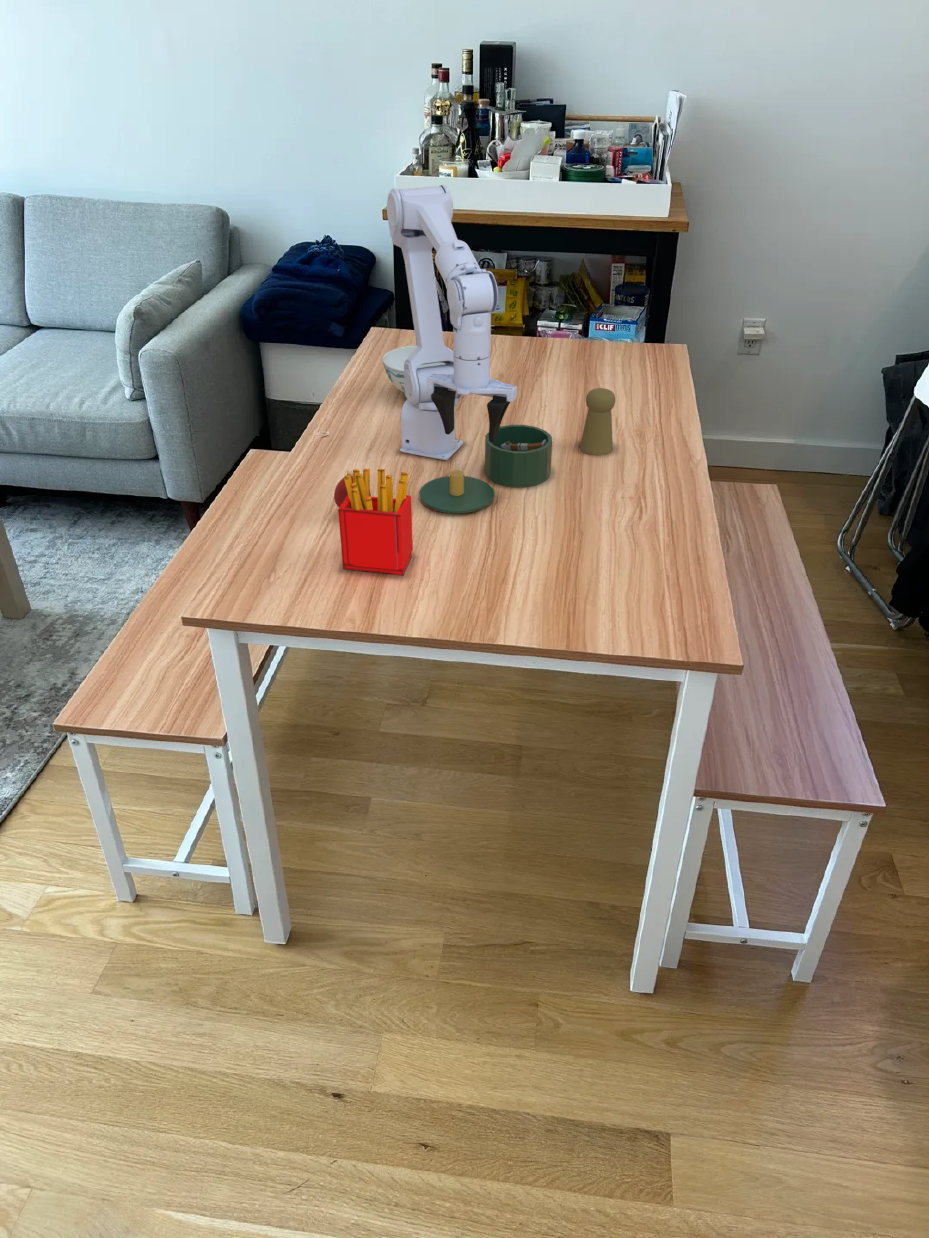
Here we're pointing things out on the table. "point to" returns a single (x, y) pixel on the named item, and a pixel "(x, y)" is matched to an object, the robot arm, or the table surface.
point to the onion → (342, 490)
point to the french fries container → (376, 525)
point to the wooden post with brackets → (523, 446)
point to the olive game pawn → (598, 422)
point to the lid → (456, 493)
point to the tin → (518, 457)
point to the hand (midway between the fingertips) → (471, 435)
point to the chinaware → (400, 365)
